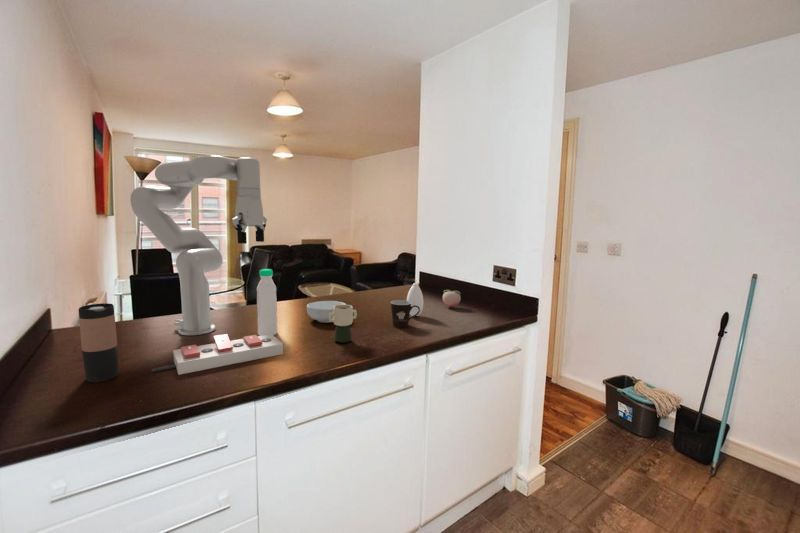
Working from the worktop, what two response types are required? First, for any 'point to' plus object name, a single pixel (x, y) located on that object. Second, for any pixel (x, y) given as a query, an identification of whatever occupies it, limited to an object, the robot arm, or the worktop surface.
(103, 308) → the travel mug
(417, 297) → the sauce bottle
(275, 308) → the water bottle
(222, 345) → the rocker middle
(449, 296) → the pale pink rounded piece
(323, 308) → the cereal bowl
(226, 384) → the worktop surface
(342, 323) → the character mug
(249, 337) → the rocker right
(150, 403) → the worktop surface
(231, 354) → the power strip
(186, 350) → the rocker left
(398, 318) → the coffee mug
